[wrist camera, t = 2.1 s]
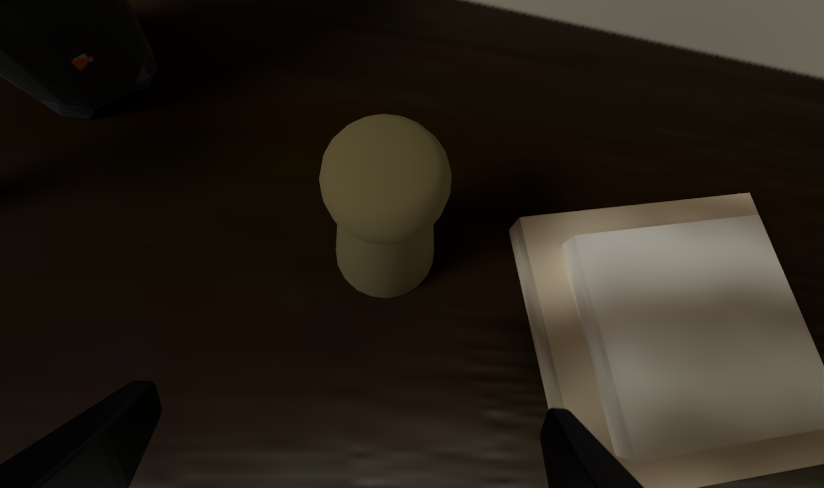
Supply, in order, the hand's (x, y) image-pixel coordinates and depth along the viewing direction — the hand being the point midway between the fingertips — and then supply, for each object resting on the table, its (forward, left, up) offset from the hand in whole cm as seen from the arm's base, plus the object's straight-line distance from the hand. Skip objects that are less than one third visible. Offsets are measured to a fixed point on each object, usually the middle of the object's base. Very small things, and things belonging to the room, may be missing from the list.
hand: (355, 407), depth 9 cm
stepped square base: (-6, -16, -14) cm, 22 cm away
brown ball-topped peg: (+7, -5, -14) cm, 16 cm away
